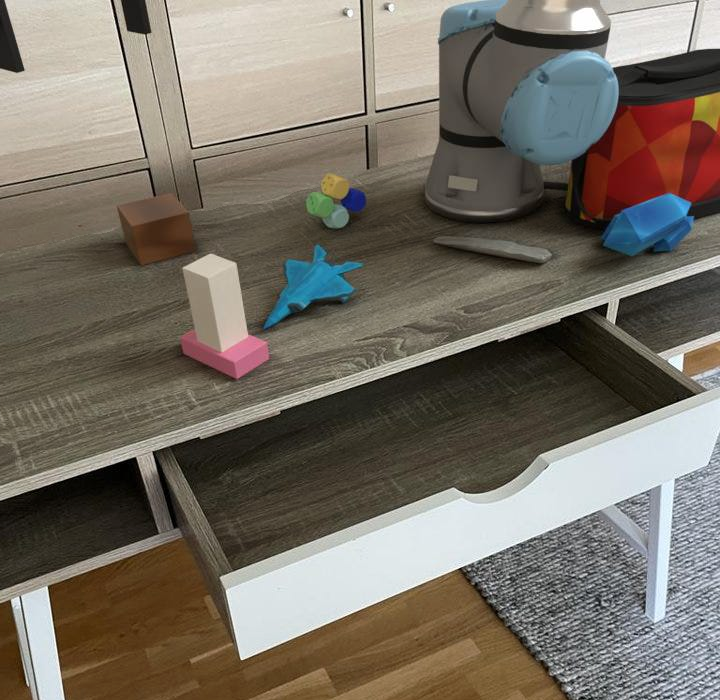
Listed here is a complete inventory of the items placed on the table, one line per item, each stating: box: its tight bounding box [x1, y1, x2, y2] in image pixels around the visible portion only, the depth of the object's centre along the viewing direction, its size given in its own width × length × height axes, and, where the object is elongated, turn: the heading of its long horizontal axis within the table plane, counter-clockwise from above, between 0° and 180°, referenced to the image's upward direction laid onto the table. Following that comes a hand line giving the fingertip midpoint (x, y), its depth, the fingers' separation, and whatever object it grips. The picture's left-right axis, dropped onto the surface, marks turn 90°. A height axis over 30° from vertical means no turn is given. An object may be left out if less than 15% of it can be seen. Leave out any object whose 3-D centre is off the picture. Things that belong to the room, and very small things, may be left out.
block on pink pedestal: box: [179, 253, 270, 380], centre depth 84 cm, size 8×4×10 cm, turn 49°
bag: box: [564, 48, 720, 230], centre depth 104 cm, size 30×14×16 cm, turn 114°
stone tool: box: [432, 235, 553, 264], centre depth 101 cm, size 14×1×5 cm
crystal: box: [600, 193, 694, 257], centre depth 97 cm, size 7×9×12 cm
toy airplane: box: [262, 243, 365, 330], centre depth 93 cm, size 12×10×4 cm
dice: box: [305, 173, 367, 229], centre depth 107 cm, size 8×3×6 cm, turn 127°
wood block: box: [116, 192, 197, 266], centre depth 105 cm, size 7×7×5 cm
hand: (79, 50), depth 77 cm, fingers open, 13 cm apart
